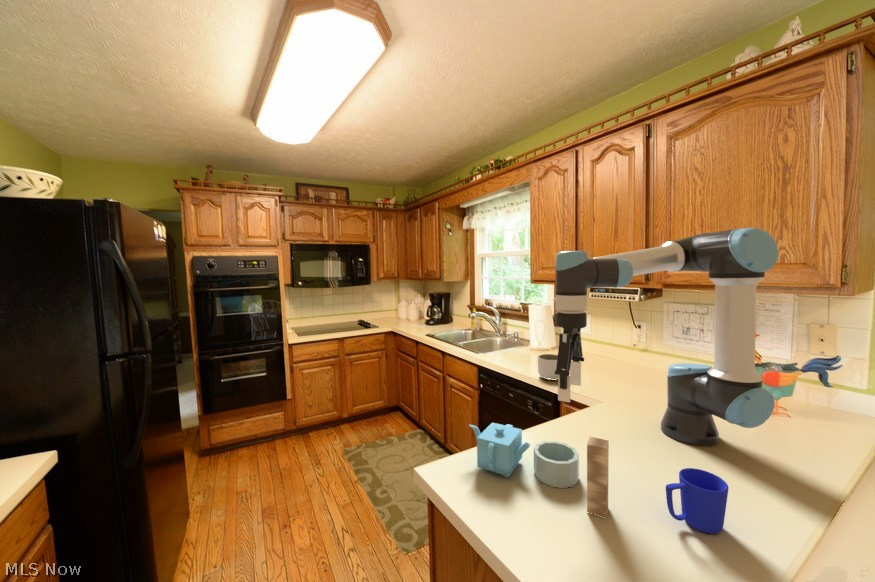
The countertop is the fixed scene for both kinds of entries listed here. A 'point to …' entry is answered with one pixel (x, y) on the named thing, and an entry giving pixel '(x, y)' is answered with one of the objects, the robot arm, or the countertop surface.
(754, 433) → the countertop surface
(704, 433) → the robot arm
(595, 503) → the wooden post
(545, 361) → the planter
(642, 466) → the countertop surface
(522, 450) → the teapot
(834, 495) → the countertop surface
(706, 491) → the mug
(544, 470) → the grey round bowl
